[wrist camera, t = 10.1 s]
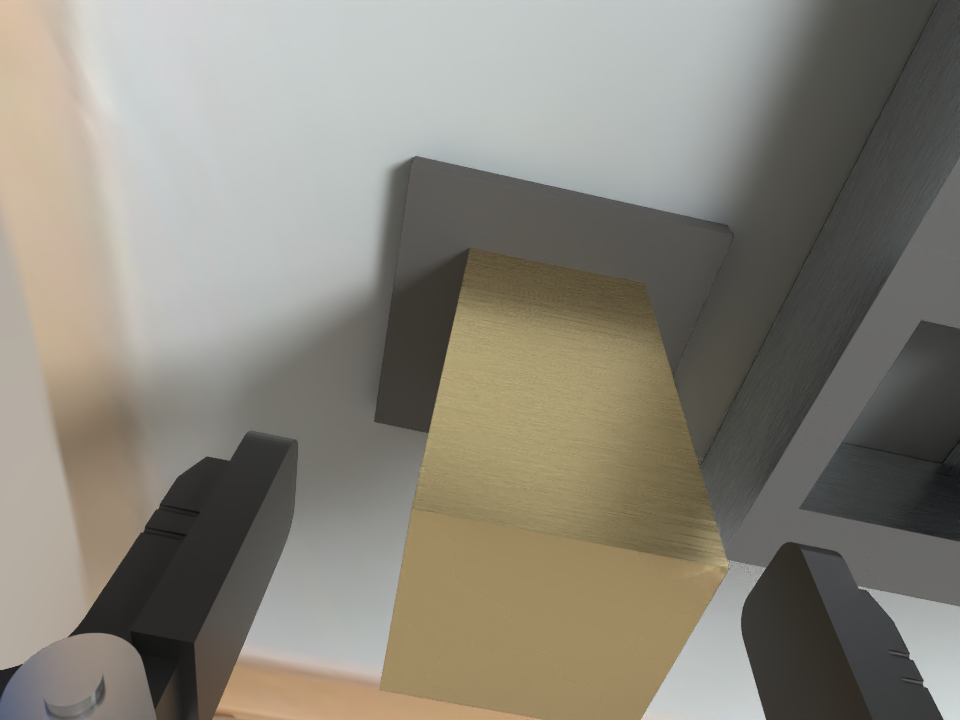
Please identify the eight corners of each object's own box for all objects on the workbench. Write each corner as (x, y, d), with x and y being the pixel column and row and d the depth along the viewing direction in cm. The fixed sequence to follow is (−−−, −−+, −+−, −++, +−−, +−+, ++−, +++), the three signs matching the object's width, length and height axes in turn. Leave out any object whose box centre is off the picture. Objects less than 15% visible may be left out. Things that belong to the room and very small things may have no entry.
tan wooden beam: (645, 282, 15) (729, 568, 8) (596, 420, 17) (631, 735, 10) (470, 247, 15) (411, 508, 8) (443, 391, 17) (379, 690, 10)
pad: (727, 225, 15) (733, 235, 14) (627, 459, 19) (629, 474, 18) (415, 156, 14) (410, 164, 14) (378, 408, 18) (374, 421, 18)
